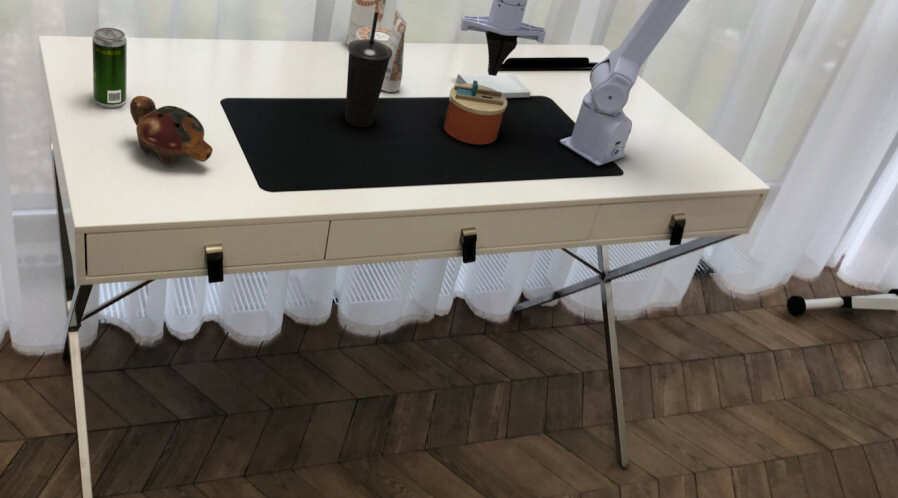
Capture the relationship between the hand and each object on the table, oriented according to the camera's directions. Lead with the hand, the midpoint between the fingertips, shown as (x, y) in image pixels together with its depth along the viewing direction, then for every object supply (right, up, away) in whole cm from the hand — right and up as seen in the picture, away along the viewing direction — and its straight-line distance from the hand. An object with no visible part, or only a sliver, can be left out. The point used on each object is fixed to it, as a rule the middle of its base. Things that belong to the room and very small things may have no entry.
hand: (491, 73), depth 174 cm
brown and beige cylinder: (-3, -10, +4) cm, 11 cm away
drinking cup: (-24, -9, 0) cm, 25 cm away
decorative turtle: (-53, -17, -19) cm, 59 cm away
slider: (-5, -4, -1) cm, 6 cm away
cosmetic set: (-21, +6, +19) cm, 29 cm away
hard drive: (+2, +1, +20) cm, 20 cm away
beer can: (-66, -7, -9) cm, 66 cm away
